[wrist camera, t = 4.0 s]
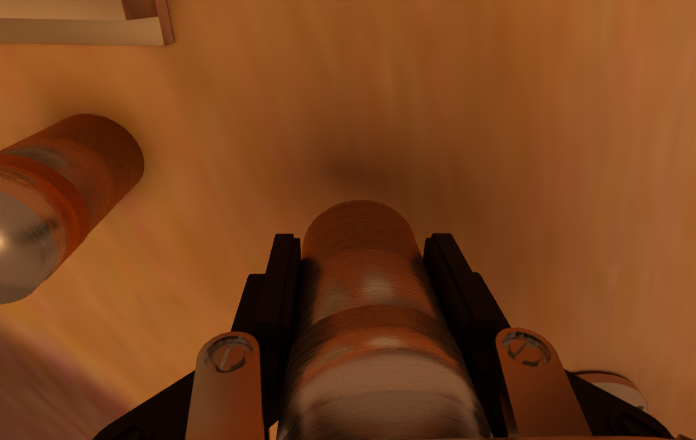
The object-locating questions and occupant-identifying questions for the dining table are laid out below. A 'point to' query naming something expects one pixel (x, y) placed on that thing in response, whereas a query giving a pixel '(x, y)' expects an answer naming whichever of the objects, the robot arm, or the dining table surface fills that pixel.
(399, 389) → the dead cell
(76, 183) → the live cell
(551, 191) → the dining table surface
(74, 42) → the tray
